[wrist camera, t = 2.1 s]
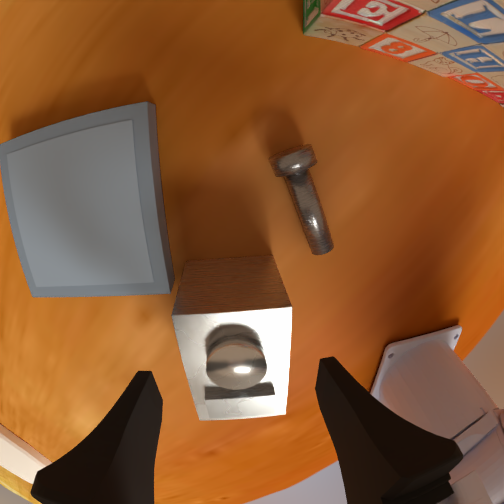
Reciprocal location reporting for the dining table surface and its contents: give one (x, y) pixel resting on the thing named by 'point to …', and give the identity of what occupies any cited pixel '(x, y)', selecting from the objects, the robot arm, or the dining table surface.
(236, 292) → the housing
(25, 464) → the decorative plate
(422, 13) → the stack of blocks
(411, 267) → the dining table surface
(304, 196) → the loose bolt
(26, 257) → the stand
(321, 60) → the dining table surface
